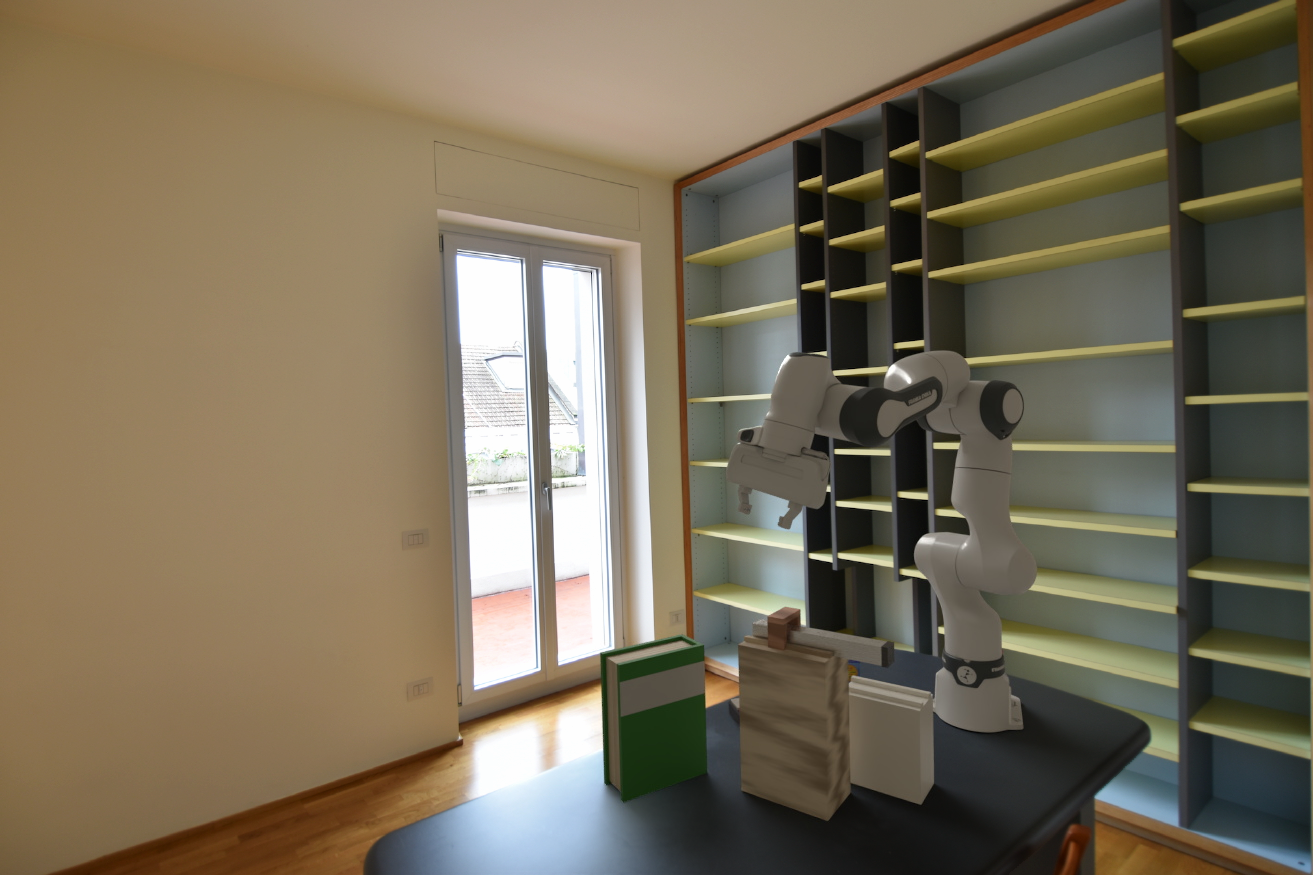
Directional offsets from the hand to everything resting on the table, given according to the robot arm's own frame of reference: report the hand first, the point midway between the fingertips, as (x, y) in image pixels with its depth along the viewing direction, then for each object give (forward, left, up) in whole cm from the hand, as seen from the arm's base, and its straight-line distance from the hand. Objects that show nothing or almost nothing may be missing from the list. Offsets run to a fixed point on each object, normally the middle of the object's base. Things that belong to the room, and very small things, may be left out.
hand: (762, 520), depth 117 cm
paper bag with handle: (-3, +4, -48) cm, 48 cm away
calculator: (-26, -13, -49) cm, 57 cm away
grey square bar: (-3, +9, -22) cm, 24 cm away
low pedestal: (-15, +16, -48) cm, 53 cm away
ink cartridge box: (-42, -4, -48) cm, 64 cm away
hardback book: (+7, -19, -48) cm, 52 cm away
